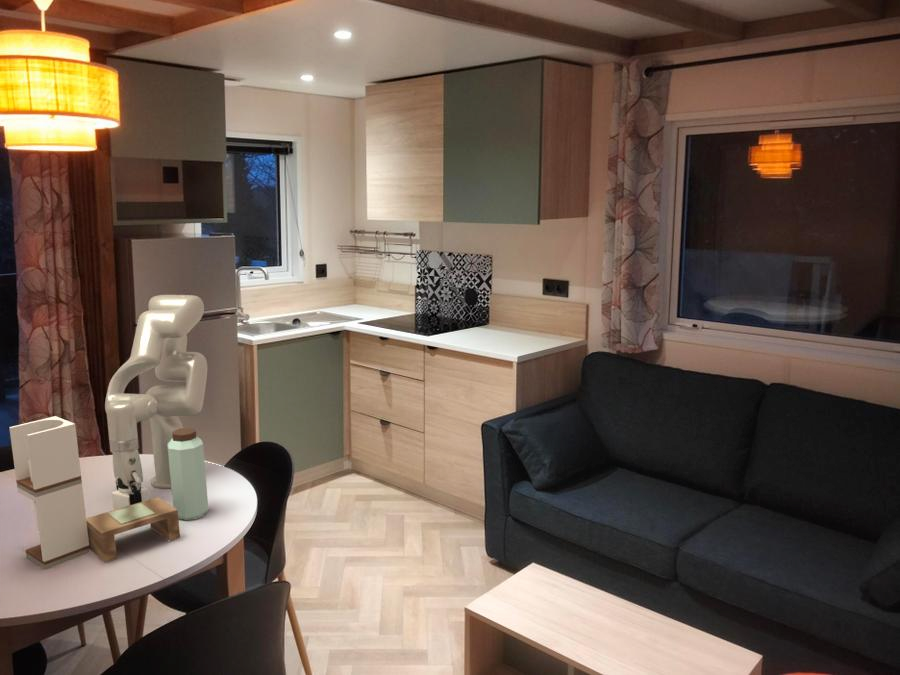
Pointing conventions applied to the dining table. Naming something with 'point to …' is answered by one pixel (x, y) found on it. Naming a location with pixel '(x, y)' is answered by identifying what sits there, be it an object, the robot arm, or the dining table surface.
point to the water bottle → (187, 474)
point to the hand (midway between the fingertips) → (129, 501)
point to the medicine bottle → (125, 495)
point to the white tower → (52, 488)
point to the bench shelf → (130, 525)
